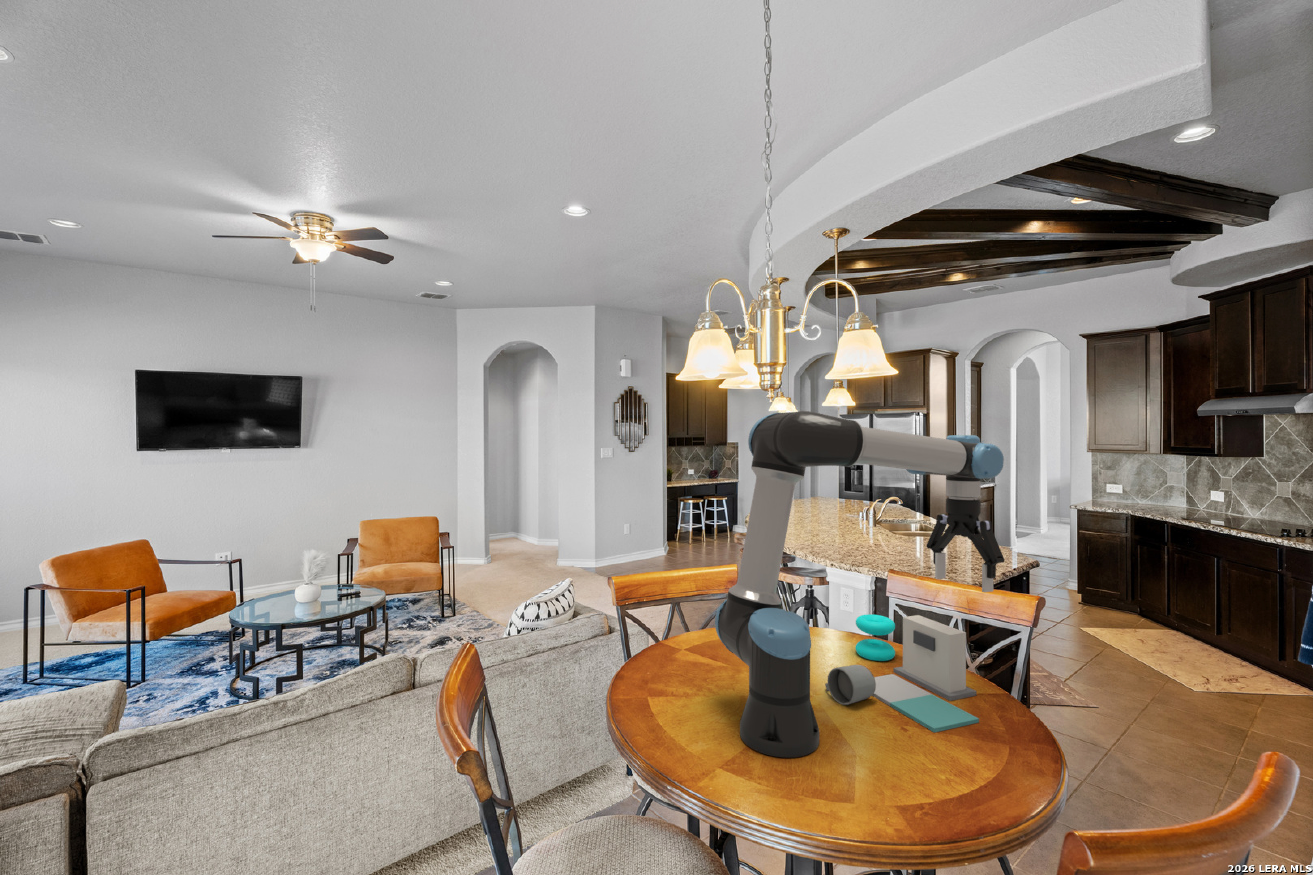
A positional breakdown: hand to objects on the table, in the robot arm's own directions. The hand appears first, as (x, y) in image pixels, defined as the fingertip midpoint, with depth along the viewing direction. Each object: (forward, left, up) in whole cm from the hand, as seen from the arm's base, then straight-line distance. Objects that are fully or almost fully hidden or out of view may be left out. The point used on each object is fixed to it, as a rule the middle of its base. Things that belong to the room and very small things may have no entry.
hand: (962, 584), depth 141 cm
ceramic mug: (-34, +1, -23) cm, 41 cm away
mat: (-22, -6, -23) cm, 32 cm away
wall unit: (-10, 0, -23) cm, 25 cm away
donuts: (-10, +19, -23) cm, 31 cm away
